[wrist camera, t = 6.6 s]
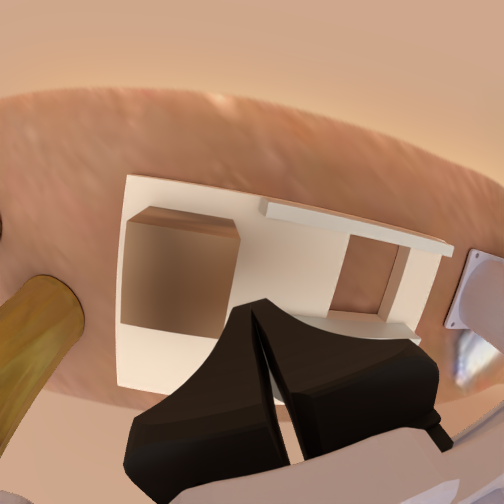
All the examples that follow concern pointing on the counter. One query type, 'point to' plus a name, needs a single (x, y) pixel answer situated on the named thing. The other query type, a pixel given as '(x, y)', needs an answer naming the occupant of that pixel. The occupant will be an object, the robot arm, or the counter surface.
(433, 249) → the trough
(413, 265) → the board
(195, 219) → the walnut block
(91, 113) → the counter surface
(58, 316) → the vase
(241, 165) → the counter surface
